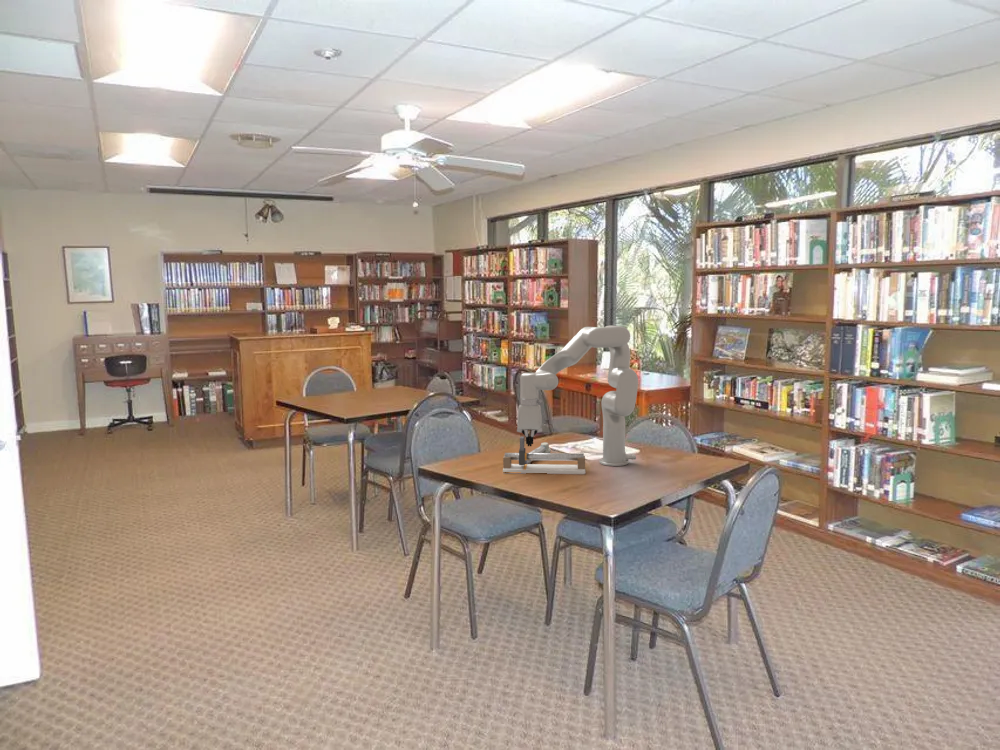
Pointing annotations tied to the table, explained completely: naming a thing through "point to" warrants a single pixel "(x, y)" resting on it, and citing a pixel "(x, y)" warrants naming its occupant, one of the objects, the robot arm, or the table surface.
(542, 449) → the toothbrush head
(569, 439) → the table surface
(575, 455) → the pipe
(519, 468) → the pipe base
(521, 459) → the collar
